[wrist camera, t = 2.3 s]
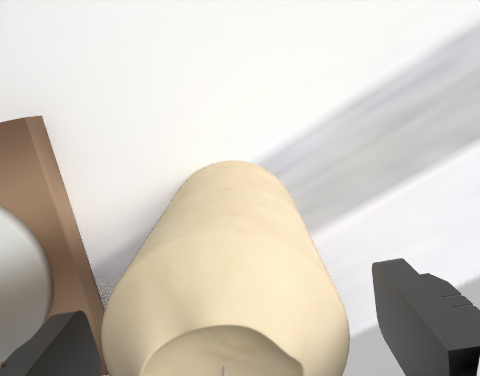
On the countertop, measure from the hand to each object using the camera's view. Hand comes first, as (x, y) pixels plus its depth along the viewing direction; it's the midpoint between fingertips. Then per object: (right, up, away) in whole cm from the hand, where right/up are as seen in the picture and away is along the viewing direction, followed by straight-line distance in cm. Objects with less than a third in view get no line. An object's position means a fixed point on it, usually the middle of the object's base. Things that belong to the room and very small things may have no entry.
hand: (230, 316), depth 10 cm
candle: (0, +2, +7) cm, 7 cm away
